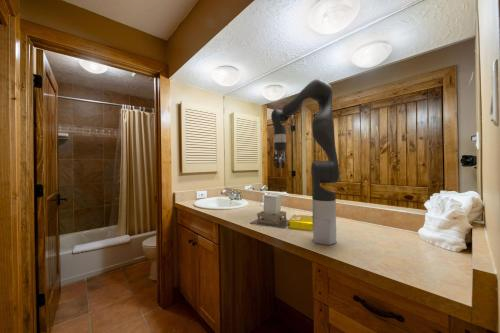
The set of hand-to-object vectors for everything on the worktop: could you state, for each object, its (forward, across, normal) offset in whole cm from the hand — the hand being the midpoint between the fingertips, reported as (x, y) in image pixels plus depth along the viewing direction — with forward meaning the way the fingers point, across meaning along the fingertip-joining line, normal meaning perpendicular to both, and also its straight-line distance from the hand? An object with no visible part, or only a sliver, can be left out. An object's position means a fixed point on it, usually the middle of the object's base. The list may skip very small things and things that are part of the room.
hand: (280, 168), depth 128 cm
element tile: (+31, -12, -18) cm, 38 cm away
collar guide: (+30, -14, 0) cm, 33 cm away
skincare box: (+30, -14, 0) cm, 33 cm away
